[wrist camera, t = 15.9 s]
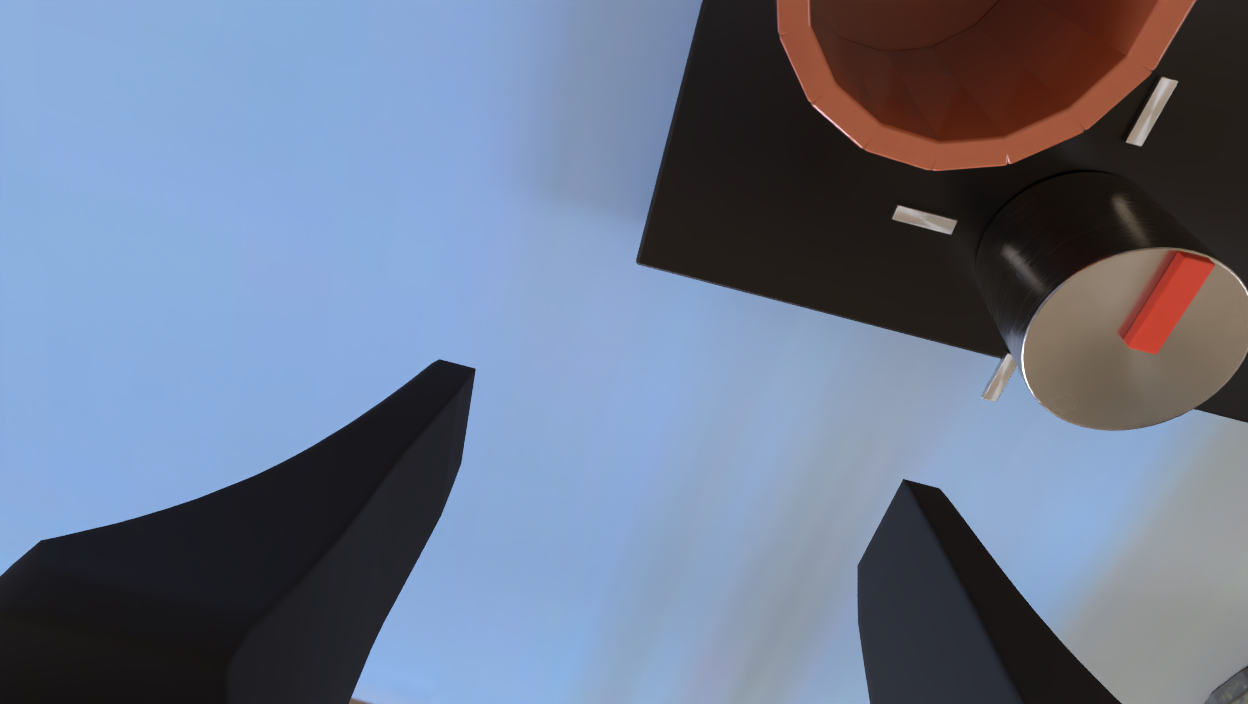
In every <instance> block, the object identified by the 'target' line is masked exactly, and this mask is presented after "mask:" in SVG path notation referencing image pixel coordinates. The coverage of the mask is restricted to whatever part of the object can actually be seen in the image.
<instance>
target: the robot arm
mask: <svg viewBox="0 0 1248 704" xmlns="http://www.w3.org/2000/svg"><path fill="white" fill-rule="evenodd" d="M474 376H475V368H471V367H467V366H463V365H459V364H455V363H452V362H448V361H444V360H440V359H439V360H437V361H436V362H434V363H432V364H431V365H429V366H428V367H427V368H426V369H424V370H423V371H422V372H420V373H419V374H418V375H417V376H415V377H414V378H413V379H411V380H410V381H409V382H408V383H406V384H405V385H404V386H402V387H401V388H400V389H398V390H397V391H396V392H394V393H393V394H392V395H390V396H389V397H387V398H386V399H385V400H383V401H382V402H380V403H379V404H377V405H376V406H375V407H373V408H372V409H370V410H369V411H367V412H366V413H364V414H363V415H362V416H360V417H359V418H357V419H356V420H354V421H353V422H351V423H350V424H348V425H346V426H345V427H343V428H342V429H340V430H338V431H337V432H335V433H333V434H332V435H330V436H328V437H327V438H325V439H323V440H322V441H320V442H319V443H317V444H315V445H314V446H312V447H310V448H308V449H306V450H305V451H303V452H301V453H299V454H297V455H296V456H294V457H292V458H290V459H288V460H286V461H284V462H282V463H280V464H278V465H276V466H274V467H272V468H270V469H268V470H266V471H264V472H262V473H260V474H257V475H255V476H253V477H251V478H248V479H246V480H243V481H241V482H238V483H236V484H233V485H231V486H228V487H226V488H223V489H221V490H218V491H215V492H213V493H210V494H208V495H205V496H203V497H200V498H197V499H195V500H192V501H189V502H186V503H183V504H180V505H177V506H174V507H171V508H168V509H165V510H161V511H158V512H155V513H151V514H148V515H145V516H141V517H138V518H134V519H131V520H127V521H123V522H120V523H116V524H112V525H108V526H103V527H99V528H95V529H90V530H86V531H82V532H78V533H73V534H69V535H65V536H61V537H56V538H51V539H46V540H41V541H40V542H39V543H38V544H36V545H35V546H34V547H33V548H32V549H31V550H29V551H28V552H27V553H26V554H25V555H23V556H22V557H21V558H20V559H19V560H18V561H16V562H15V563H14V564H13V565H12V566H11V567H10V568H9V569H8V570H7V571H6V572H5V573H3V574H2V575H1V576H0V704H349V701H350V699H351V696H352V694H353V692H354V689H355V687H356V684H357V682H358V679H359V677H360V675H361V672H362V670H363V667H364V665H365V663H366V660H367V658H368V655H369V653H370V650H371V648H372V646H373V644H374V642H375V640H376V638H377V635H378V633H379V631H380V629H381V627H382V625H383V623H384V621H385V619H386V617H387V616H388V614H389V612H390V610H391V608H392V606H393V604H394V603H395V601H396V599H397V597H398V595H399V593H400V591H401V590H402V588H403V586H404V584H405V582H406V580H407V578H408V577H409V575H410V573H411V571H412V569H413V567H414V565H415V564H416V562H417V560H418V558H419V556H420V554H421V552H422V551H423V549H424V547H425V545H426V543H427V541H428V539H429V537H430V535H431V534H432V532H433V530H434V528H435V526H436V524H437V522H438V520H439V518H440V516H441V514H442V512H443V509H444V507H445V504H446V502H447V499H448V497H449V494H450V492H451V489H452V486H453V484H454V481H455V478H456V476H457V473H458V470H459V468H460V465H461V461H462V454H463V448H464V441H465V435H466V428H467V422H468V415H469V409H470V402H471V396H472V389H473V382H474ZM858 624H859V631H860V639H861V646H862V652H863V659H864V666H865V673H866V679H867V685H868V692H869V698H870V704H1121V703H1120V702H1119V701H1118V700H1117V699H1116V698H1115V697H1114V696H1113V695H1112V694H1111V693H1110V692H1109V691H1108V690H1107V689H1106V688H1105V687H1104V686H1103V685H1102V684H1101V683H1100V682H1099V681H1098V680H1097V679H1096V678H1095V677H1094V676H1093V675H1092V674H1091V673H1090V672H1089V671H1088V670H1087V669H1086V668H1085V667H1084V666H1083V665H1082V664H1081V663H1080V662H1079V661H1078V660H1077V658H1076V657H1075V656H1074V655H1073V654H1072V653H1071V652H1070V651H1069V650H1068V649H1067V648H1066V647H1065V645H1064V644H1063V643H1062V642H1061V641H1060V640H1059V639H1058V638H1057V636H1056V635H1055V634H1054V633H1053V632H1052V631H1051V629H1050V628H1049V627H1048V626H1047V625H1046V624H1045V622H1044V621H1043V620H1042V619H1041V618H1040V617H1039V615H1038V614H1037V613H1036V612H1035V611H1034V610H1033V608H1032V607H1031V606H1030V605H1029V603H1028V602H1027V601H1026V600H1025V599H1024V597H1023V596H1022V595H1021V594H1020V592H1019V591H1018V590H1017V589H1016V587H1015V586H1014V585H1013V584H1012V582H1011V581H1010V580H1009V578H1008V577H1007V576H1006V575H1005V573H1004V572H1003V571H1002V569H1001V568H1000V567H999V566H998V564H997V563H996V562H995V560H994V559H993V558H992V556H991V555H990V554H989V552H988V551H987V550H986V548H985V547H984V546H983V544H982V543H981V542H980V540H979V539H978V538H977V536H976V535H975V534H974V532H973V531H972V530H971V528H970V527H969V526H968V524H967V523H966V522H965V520H964V519H963V518H962V516H961V515H960V514H959V512H958V511H957V510H956V508H955V507H954V506H953V504H952V503H951V502H950V501H949V499H948V498H947V497H946V496H945V494H944V493H943V492H942V491H941V490H940V489H939V488H936V487H932V486H928V485H924V484H920V483H916V482H912V481H908V480H905V479H903V481H902V483H901V485H900V487H899V488H898V490H897V492H896V494H895V496H894V498H893V500H892V502H891V504H890V506H889V507H888V509H887V511H886V513H885V515H884V517H883V519H882V521H881V523H880V524H879V526H878V528H877V530H876V532H875V534H874V536H873V538H872V540H871V542H870V543H869V545H868V547H867V549H866V551H865V553H864V555H863V557H862V559H861V560H860V562H859V564H858Z"/></svg>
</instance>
